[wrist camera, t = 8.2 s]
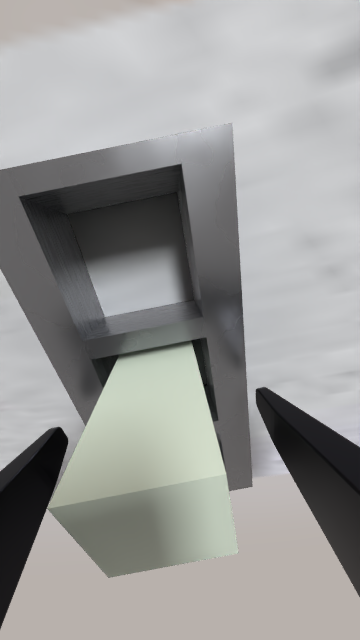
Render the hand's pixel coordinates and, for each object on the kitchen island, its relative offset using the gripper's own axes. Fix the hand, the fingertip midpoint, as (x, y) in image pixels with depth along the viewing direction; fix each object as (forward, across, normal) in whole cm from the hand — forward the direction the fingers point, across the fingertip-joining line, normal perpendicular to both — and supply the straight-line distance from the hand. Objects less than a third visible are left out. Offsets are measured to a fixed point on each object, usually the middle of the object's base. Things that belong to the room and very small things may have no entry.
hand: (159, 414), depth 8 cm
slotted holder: (+4, 0, 0) cm, 4 cm away
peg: (+4, 0, 0) cm, 4 cm away
